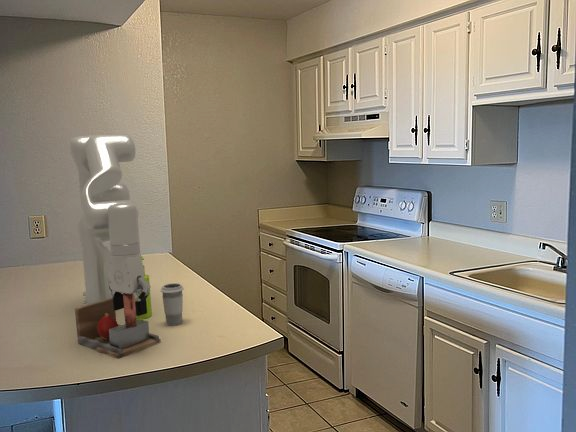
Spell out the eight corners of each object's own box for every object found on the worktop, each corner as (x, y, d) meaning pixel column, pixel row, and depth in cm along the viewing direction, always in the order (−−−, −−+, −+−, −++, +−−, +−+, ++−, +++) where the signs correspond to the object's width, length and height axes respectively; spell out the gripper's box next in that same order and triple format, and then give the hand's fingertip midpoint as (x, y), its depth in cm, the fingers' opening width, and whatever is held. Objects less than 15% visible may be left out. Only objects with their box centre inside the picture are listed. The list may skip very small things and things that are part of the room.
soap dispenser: (136, 321, 176) (131, 258, 173) (131, 315, 182) (126, 255, 179) (154, 318, 179) (150, 256, 176) (149, 312, 185) (145, 252, 182)
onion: (100, 337, 163) (98, 310, 162) (121, 335, 163) (119, 309, 162) (95, 344, 157) (93, 316, 156) (116, 343, 157) (114, 315, 156)
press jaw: (108, 346, 152) (103, 292, 149) (138, 335, 159) (134, 284, 157) (120, 350, 148) (116, 295, 146) (150, 339, 156) (146, 286, 154)
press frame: (74, 343, 158) (71, 309, 157) (116, 329, 169) (114, 296, 168) (118, 358, 146) (115, 321, 144) (160, 342, 157) (158, 307, 155)
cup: (174, 328, 168) (171, 289, 166) (158, 325, 171) (155, 287, 170) (190, 321, 174) (188, 283, 172) (174, 318, 177) (172, 281, 176)
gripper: (94, 249, 152) (99, 310, 154) (134, 255, 141) (139, 320, 143) (117, 244, 158) (122, 304, 160) (157, 249, 147) (162, 313, 149)
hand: (130, 311), depth 152 cm, fingers open, 9 cm apart
